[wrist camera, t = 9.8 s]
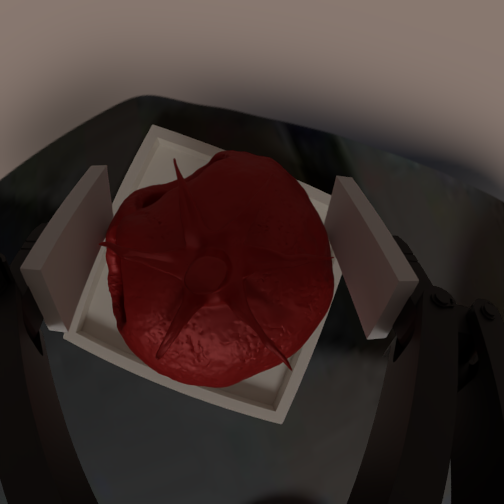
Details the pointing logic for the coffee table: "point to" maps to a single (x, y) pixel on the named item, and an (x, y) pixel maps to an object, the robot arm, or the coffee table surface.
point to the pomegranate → (219, 270)
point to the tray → (100, 302)
